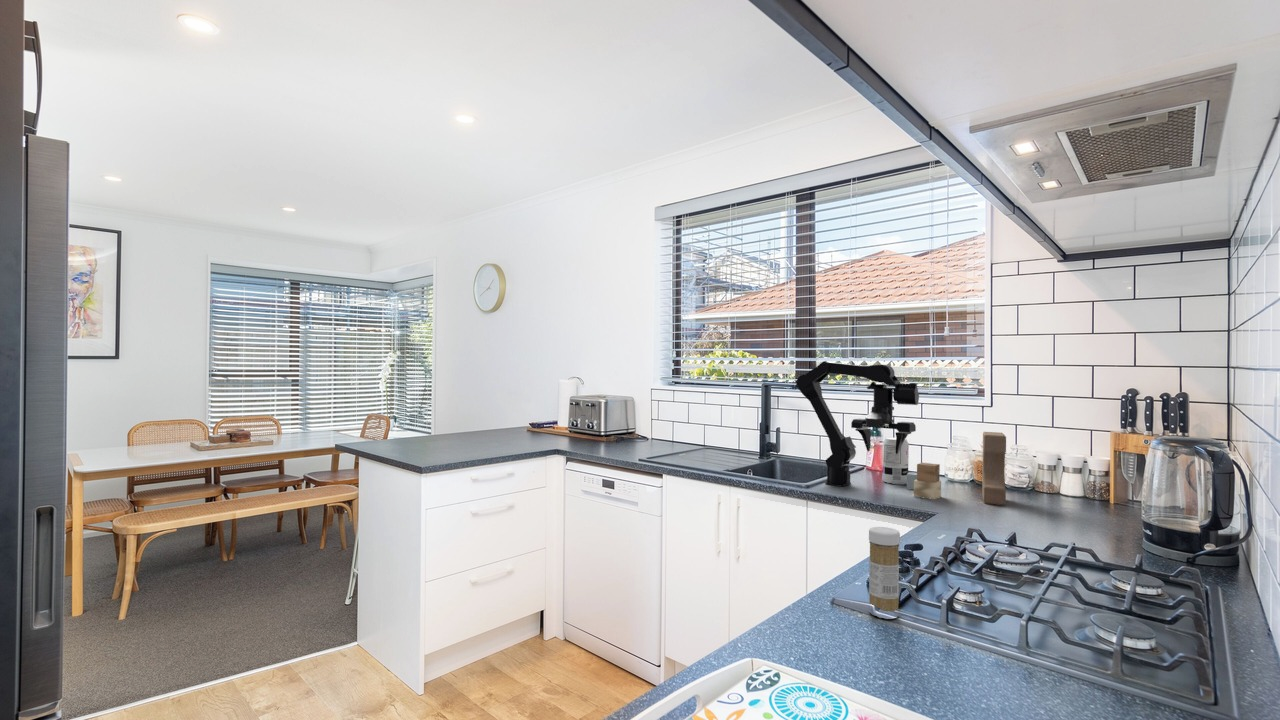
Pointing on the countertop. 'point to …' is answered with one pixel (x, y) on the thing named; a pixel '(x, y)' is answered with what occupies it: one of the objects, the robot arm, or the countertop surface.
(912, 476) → the slate cube
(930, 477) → the walnut cube
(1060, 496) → the countertop surface
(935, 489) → the maple block
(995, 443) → the decorative block
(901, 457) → the supplement can
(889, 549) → the sprinkles bottle
